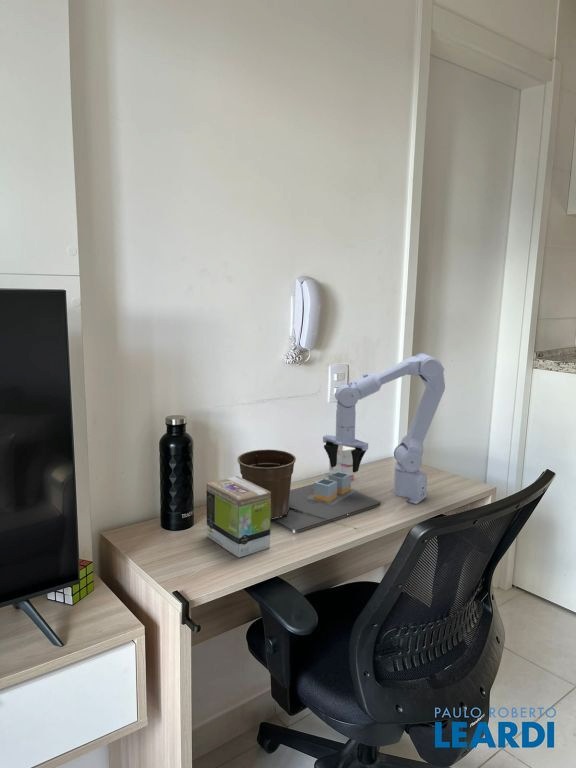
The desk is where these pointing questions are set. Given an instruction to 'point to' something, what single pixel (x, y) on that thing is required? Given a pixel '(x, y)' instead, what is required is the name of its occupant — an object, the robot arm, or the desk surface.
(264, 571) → the desk surface
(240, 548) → the tea box
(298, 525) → the desk surface
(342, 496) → the peg board
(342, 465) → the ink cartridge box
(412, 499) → the robot arm
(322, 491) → the loose sleeve
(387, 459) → the desk surface
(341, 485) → the seated sleeve
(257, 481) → the plant pot
